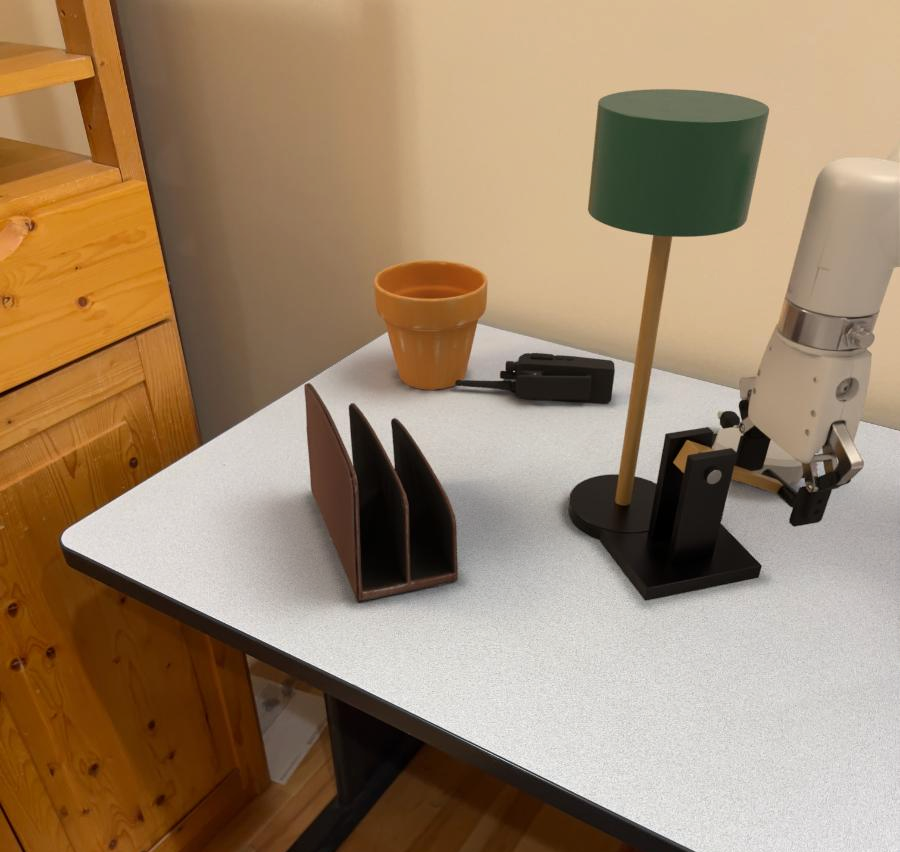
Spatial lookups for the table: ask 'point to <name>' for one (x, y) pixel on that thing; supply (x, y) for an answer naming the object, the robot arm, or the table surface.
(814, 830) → the table surface
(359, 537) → the letter holder
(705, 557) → the black pivot bracket
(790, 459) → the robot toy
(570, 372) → the walkie-talkie
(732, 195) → the desk lamp
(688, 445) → the switch lever
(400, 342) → the flower pot
